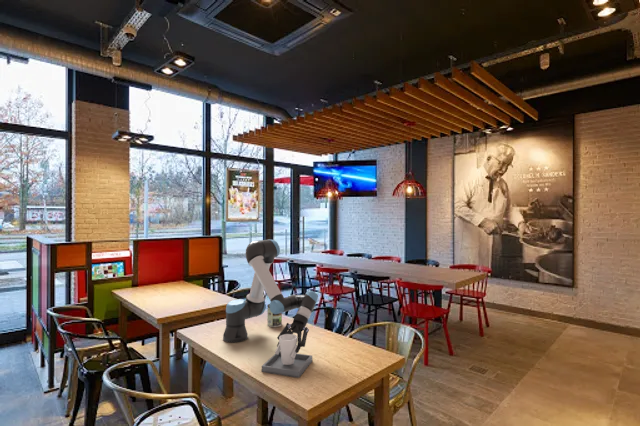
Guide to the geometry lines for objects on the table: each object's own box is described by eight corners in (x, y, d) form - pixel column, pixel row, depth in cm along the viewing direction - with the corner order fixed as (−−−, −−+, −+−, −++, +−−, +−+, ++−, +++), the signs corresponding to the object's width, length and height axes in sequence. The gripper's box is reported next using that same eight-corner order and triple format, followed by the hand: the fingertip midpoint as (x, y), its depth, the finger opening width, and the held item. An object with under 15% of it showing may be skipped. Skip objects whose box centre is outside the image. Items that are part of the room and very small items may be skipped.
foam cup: (281, 367, 175) (282, 341, 175) (276, 360, 183) (276, 335, 183) (299, 364, 179) (299, 338, 179) (293, 357, 187) (293, 333, 187)
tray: (261, 371, 174) (261, 365, 174) (278, 356, 194) (278, 350, 194) (298, 378, 168) (298, 371, 168) (312, 361, 187) (312, 355, 187)
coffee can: (283, 323, 251) (283, 303, 251) (279, 327, 241) (279, 307, 241) (270, 322, 253) (270, 302, 253) (265, 326, 243) (265, 306, 243)
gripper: (321, 324, 188) (304, 364, 175) (288, 317, 200) (270, 354, 186) (316, 316, 184) (298, 357, 170) (283, 310, 195) (264, 347, 182)
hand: (284, 355), depth 178 cm, fingers closed on foam cup, 9 cm apart
